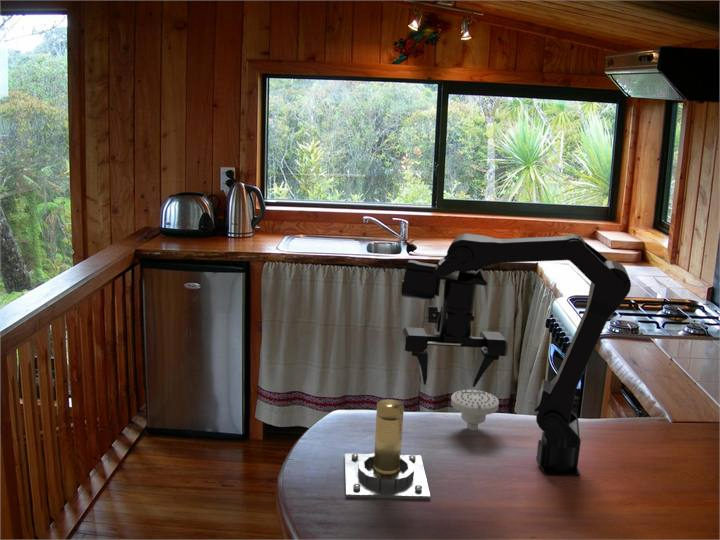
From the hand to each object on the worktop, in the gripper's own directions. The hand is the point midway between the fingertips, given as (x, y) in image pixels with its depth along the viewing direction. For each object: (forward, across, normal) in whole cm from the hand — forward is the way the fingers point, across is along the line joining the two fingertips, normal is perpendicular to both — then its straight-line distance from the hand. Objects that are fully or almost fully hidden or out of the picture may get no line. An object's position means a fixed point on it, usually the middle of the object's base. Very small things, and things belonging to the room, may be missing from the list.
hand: (448, 385), depth 141 cm
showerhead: (+13, -8, -9) cm, 18 cm away
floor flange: (+14, +12, +10) cm, 21 cm away
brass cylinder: (+13, +12, +10) cm, 20 cm away
